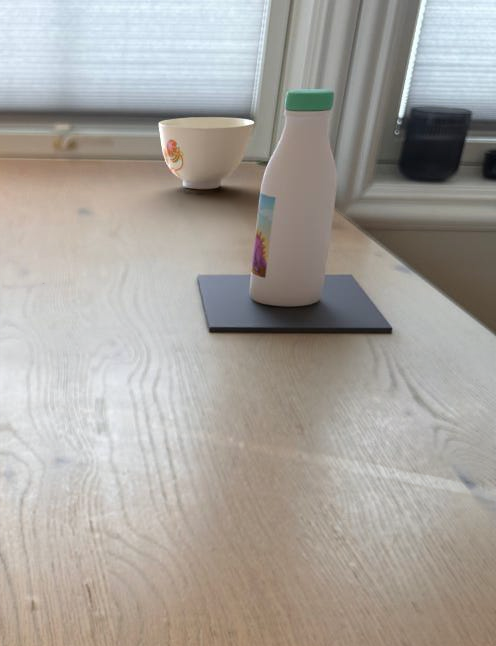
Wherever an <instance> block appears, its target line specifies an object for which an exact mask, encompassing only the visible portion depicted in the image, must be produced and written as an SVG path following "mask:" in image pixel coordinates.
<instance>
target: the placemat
mask: <svg viewBox="0 0 496 646" xmlns="http://www.w3.org/2000/svg"><path fill="white" fill-rule="evenodd" d="M250 280H251V274H196V281H197V284H198V289H199V294H200V298H201V302H202V307H203V311H204V316H205V320H206V324H207V325H206V326H207V328H208V329H207V330H208V332H209V333H338V334H339V333H344V334H345V333H349V334H350V333H353V334H358V333H361V334H363V333H364V334H365V333H366V334H367V333H368V334H369V333H370V334H372V333H373V334H390V333H391V334H392V333H393V327H392V326H391V324H390V323H389V321H388V320H387V319H386V317H385V316H384V315H383V313H382V312H381V311H380V309H378V307H377V306H376V304H375V303H374V302H373V300H372V299H371V298H370V297H369V296H368V294H367V293H366V291H365V290H364V289H363V288H362V286H361V285H360V284H359V283H358V281H357V280H356V279H355V277H354V276H353V275H352V274H325V277H324V284H323V290H322V295H321V297H320V299H319V300H318V302H316V303H313V304H310V305H304V306H274V305H267V304H263V303H259V302H256V301H254V300H253V299H251V296H250Z"/></svg>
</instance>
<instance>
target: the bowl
mask: <svg viewBox="0 0 496 646" xmlns="http://www.w3.org/2000/svg"><path fill="white" fill-rule="evenodd" d="M254 125H255V122H254V120H250V119H247V118H238V117H221V116H219V117H217V116H206V117H205V116H201V117H198V116H197V117H181V118H171V119H165V120H161V121H159V122H158V130H159V136H160V144H161V150H162V154H163V158H164V161H165V164H166V165H167V167H168V168H169V170H170V172H172V174H174V175H175V176H176V177H177V178H179V179H180V180H182V186H183V188H185V189H190V190H213V189H217V188H219V187H220V186H221V182H222V180H224V179H225V178H228V177H229V176H230V175H231V174H232V173H233V172H235V171H236V169H237V168H238V167H239V166H240V164H241V163H242V161H243V159H244V157H245V154H246V152H247V148H248V146H249V142H250V139H251V136H252V132H253V130H254Z"/></svg>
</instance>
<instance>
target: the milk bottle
mask: <svg viewBox="0 0 496 646" xmlns="http://www.w3.org/2000/svg"><path fill="white" fill-rule="evenodd" d="M334 100H335V92H334V91H333V90H330V89H324V88H323V89H322V88H319V89H318V88H303V89H291V90H288V91H287V92H286V95H285V99H284V112H283V116H284V117H285V122H284V126H283V130H282V133H281V136H280V139H279V140H278V143H277V145H276V147H275V149H274V151H273V153H272V155H271V156H270V158H269V161H268V162H267V165H266V168H265V169H264V174H263V177H262V181H261V185H260V193H259V198H258V199H259V200H258V207H257V216H256V223H255V224H256V225H255V234H254V243H253V251H252V260H251V261H252V263H251V272H250V275H251V280H250V296H251V299H253V300H254V301H256V302H259V303H263V304H267V305H274V306H304V305H310V304H313V303H316V302H318V300H319V299H320V297H321V295H322V290H323V284H324V277H325V275H326V269H327V263H328V255H329V248H330V241H331V233H332V229H333V228H332V227H333V220H334V214H335V213H334V212H335V206H336V205H335V204H336V195H337V185H338V183H337V182H338V181H337V179H338V176H337V167H336V161H335V158H334V155H333V151H332V147H331V143H330V136H329V120H330V116H332V109H333V106H334Z"/></svg>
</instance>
